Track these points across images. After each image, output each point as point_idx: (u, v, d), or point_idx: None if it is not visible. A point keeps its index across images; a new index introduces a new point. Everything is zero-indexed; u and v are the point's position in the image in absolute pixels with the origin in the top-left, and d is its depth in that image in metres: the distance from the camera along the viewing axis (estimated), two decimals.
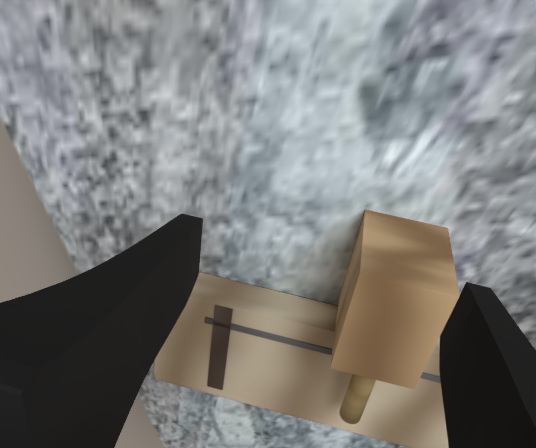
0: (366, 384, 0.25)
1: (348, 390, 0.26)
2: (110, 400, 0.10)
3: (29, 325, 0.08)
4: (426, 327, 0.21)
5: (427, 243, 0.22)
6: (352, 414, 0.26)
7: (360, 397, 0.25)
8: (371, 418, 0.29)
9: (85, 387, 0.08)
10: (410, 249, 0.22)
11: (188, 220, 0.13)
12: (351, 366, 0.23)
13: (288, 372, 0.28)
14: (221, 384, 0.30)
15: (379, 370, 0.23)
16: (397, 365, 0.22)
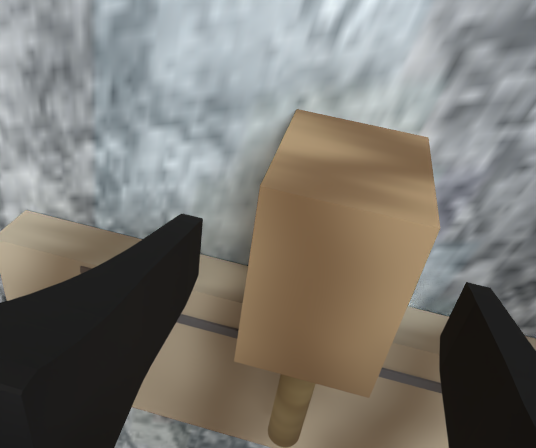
0: (299, 389, 0.16)
1: (276, 396, 0.17)
2: (110, 400, 0.10)
3: (29, 326, 0.08)
4: (383, 290, 0.12)
5: (391, 154, 0.13)
6: (283, 433, 0.17)
7: (293, 407, 0.16)
8: (321, 436, 0.20)
9: (85, 387, 0.08)
10: (361, 159, 0.13)
11: (188, 220, 0.13)
12: (266, 358, 0.14)
13: (198, 368, 0.20)
14: None
15: (311, 366, 0.14)
16: (339, 357, 0.13)
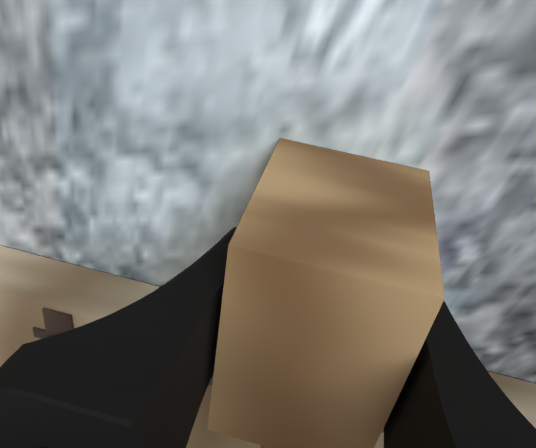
0: None
1: None
2: (182, 420, 0.10)
3: (118, 350, 0.08)
4: (377, 363, 0.10)
5: (386, 196, 0.11)
6: None
7: None
8: None
9: (169, 411, 0.08)
10: (351, 204, 0.11)
11: None
12: (244, 429, 0.12)
13: None
14: None
15: (295, 438, 0.12)
16: (326, 431, 0.12)
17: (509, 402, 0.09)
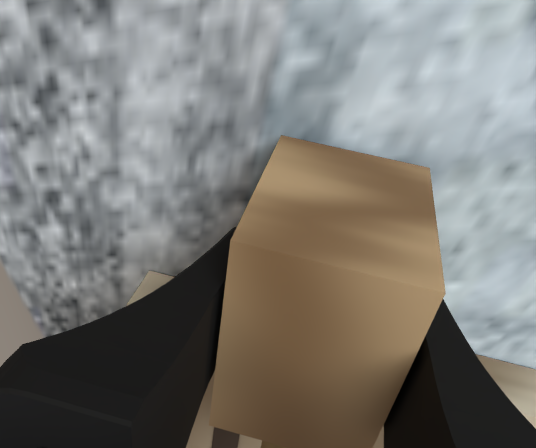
0: None
1: None
2: (182, 420, 0.10)
3: (118, 350, 0.08)
4: (378, 358, 0.10)
5: (387, 192, 0.11)
6: None
7: None
8: None
9: (169, 411, 0.08)
10: (352, 201, 0.11)
11: None
12: (245, 424, 0.12)
13: None
14: None
15: (296, 433, 0.12)
16: (328, 426, 0.12)
17: (509, 402, 0.09)
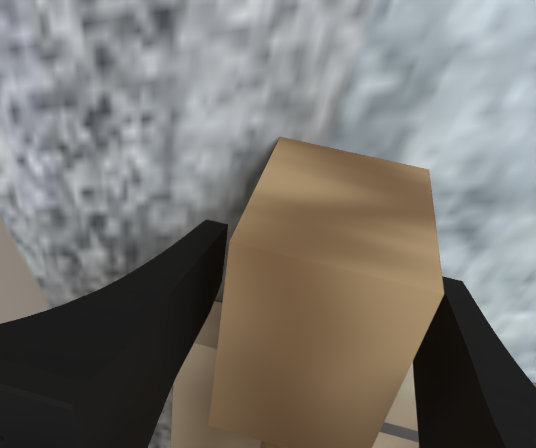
0: None
1: None
2: (143, 409, 0.10)
3: (70, 336, 0.08)
4: (377, 359, 0.10)
5: (386, 192, 0.12)
6: None
7: None
8: None
9: (124, 398, 0.08)
10: (351, 201, 0.11)
11: (213, 226, 0.13)
12: (244, 424, 0.12)
13: None
14: None
15: (295, 433, 0.12)
16: (327, 426, 0.12)
17: None
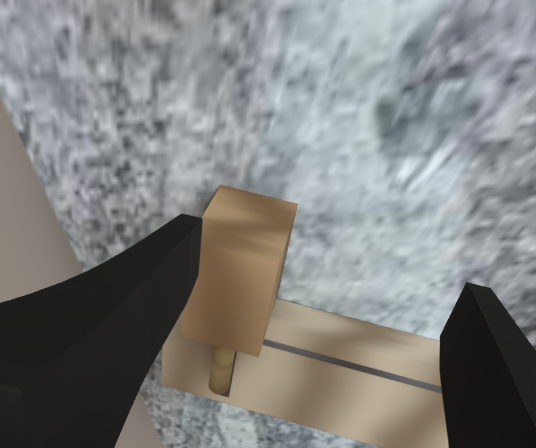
0: (223, 354, 0.26)
1: (211, 360, 0.27)
2: (110, 400, 0.10)
3: (29, 326, 0.08)
4: (256, 295, 0.22)
5: (269, 217, 0.23)
6: (216, 384, 0.27)
7: (220, 366, 0.26)
8: (376, 427, 0.29)
9: (85, 387, 0.08)
10: (249, 221, 0.23)
11: (188, 220, 0.13)
12: (199, 334, 0.24)
13: (295, 381, 0.29)
14: (227, 391, 0.30)
15: (224, 338, 0.24)
16: (239, 333, 0.23)
17: None
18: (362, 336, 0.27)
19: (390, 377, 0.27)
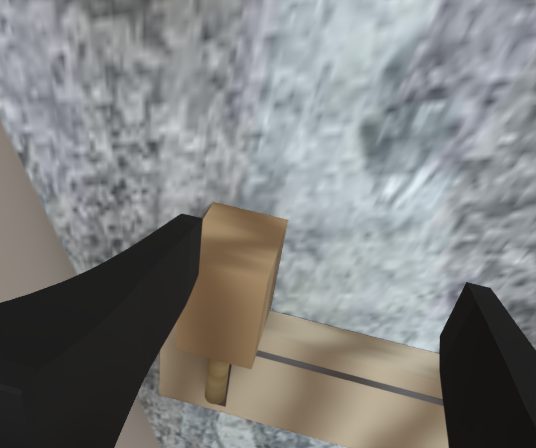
0: (218, 366, 0.26)
1: None
2: (110, 400, 0.10)
3: (29, 326, 0.08)
4: (247, 310, 0.22)
5: (260, 233, 0.24)
6: (212, 394, 0.28)
7: (216, 378, 0.27)
8: (369, 435, 0.30)
9: (85, 387, 0.08)
10: (240, 238, 0.23)
11: (188, 220, 0.13)
12: (193, 347, 0.25)
13: (289, 390, 0.29)
14: (224, 401, 0.31)
15: (217, 351, 0.24)
16: (231, 346, 0.24)
17: None
18: (353, 347, 0.27)
19: (381, 387, 0.27)
